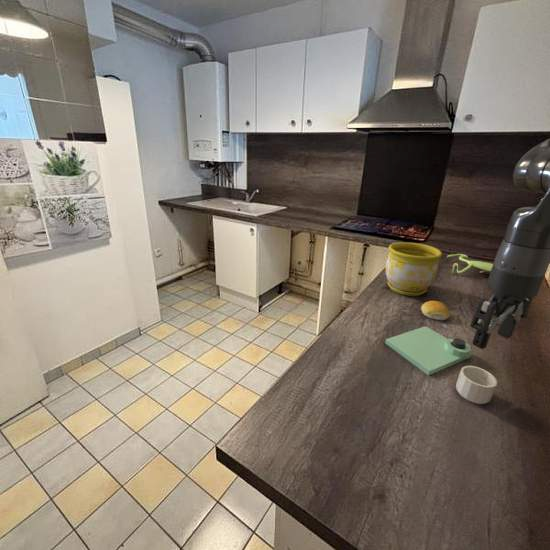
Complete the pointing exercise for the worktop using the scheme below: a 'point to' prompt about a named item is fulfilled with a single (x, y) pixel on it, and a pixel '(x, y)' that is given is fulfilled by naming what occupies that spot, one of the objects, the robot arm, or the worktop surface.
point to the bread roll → (435, 310)
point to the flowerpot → (411, 267)
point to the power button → (458, 343)
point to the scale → (428, 349)
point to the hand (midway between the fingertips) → (491, 341)
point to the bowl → (476, 384)
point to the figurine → (471, 264)
